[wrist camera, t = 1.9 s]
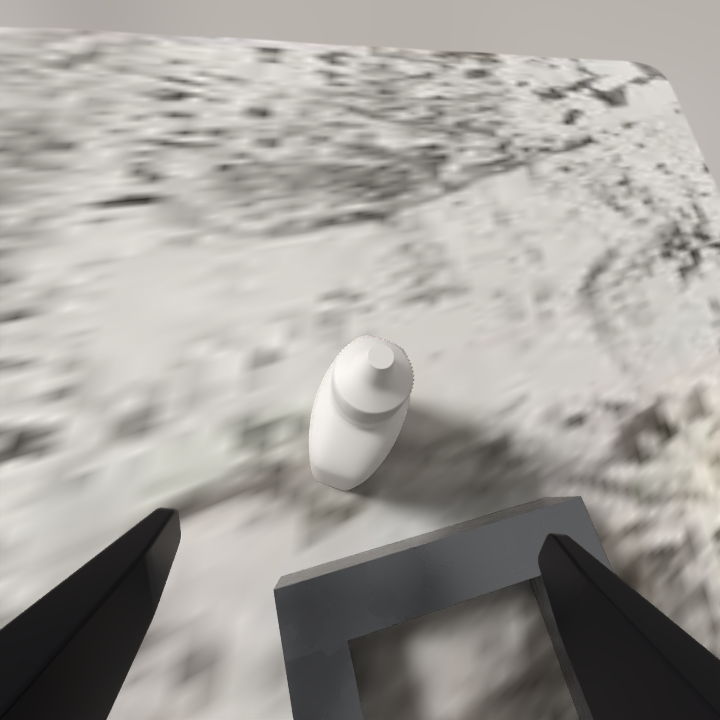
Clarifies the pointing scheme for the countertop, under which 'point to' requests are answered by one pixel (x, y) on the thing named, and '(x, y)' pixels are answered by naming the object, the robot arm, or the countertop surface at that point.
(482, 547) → the hollow square frame
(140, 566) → the robot arm
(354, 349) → the eye dropper bottle
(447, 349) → the countertop surface
